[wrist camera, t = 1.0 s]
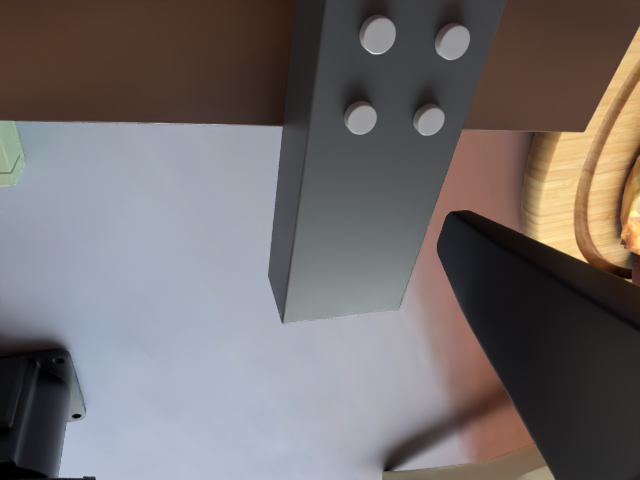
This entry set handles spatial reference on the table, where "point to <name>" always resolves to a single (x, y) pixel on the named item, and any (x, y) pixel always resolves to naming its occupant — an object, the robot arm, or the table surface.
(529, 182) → the wooden plate
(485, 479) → the flower vase
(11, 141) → the tray
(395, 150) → the dark gray box
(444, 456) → the table surface
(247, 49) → the shelf
